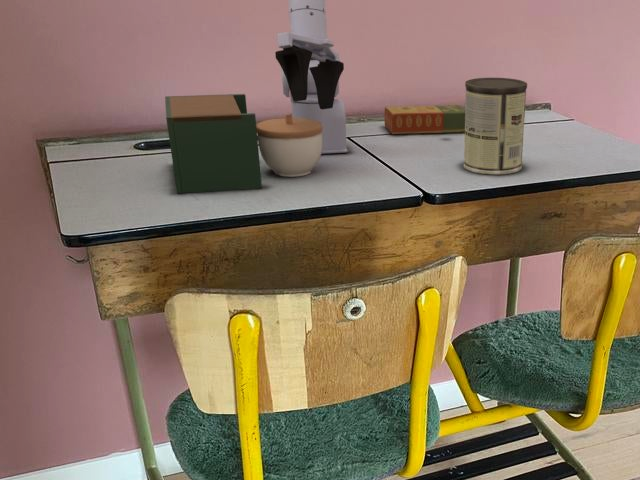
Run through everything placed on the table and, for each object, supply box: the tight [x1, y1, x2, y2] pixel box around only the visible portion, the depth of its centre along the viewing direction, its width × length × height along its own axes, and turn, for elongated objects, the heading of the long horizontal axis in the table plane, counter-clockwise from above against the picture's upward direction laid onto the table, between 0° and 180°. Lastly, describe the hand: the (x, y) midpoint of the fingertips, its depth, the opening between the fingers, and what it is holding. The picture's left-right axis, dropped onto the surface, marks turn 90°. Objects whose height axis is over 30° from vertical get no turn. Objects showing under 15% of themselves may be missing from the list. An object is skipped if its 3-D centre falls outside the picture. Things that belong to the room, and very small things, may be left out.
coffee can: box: [463, 77, 528, 175], centre depth 139 cm, size 10×10×14 cm
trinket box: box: [256, 113, 323, 178], centre depth 135 cm, size 11×11×9 cm
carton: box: [383, 104, 465, 135], centre depth 166 cm, size 8×16×4 cm, turn 105°
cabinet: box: [164, 93, 263, 194], centre depth 131 cm, size 13×17×11 cm
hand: (313, 104), depth 130 cm, fingers open, 7 cm apart
